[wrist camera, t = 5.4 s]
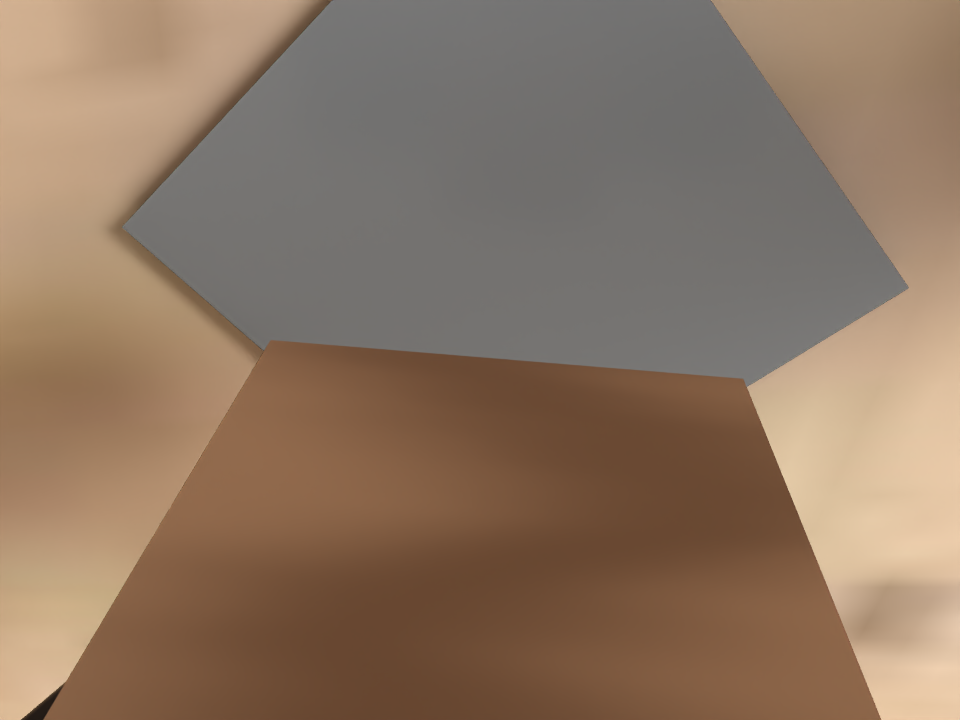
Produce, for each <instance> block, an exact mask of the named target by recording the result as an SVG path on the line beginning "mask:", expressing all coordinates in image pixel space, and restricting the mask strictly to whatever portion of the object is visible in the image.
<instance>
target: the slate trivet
mask: <svg viewBox="0 0 960 720" xmlns="http://www.w3.org/2000/svg"><path fill="white" fill-rule="evenodd" d="M122 228H123V229H124V230H126V231H127V232H128V233H129V234H130V235H131V236H132V237H134V238H135V239H136V240H137V241H138V242H139V243H140V244H142V245H143V246H144V247H145V248H146V249H147V250H149V251H150V252H151V253H152V254H153V255H154V256H155V257H157V258H158V259H159V260H160V261H161V262H162V263H163V264H165V265H166V266H167V267H168V268H169V269H170V270H171V271H173V272H174V273H175V274H176V275H177V276H178V277H179V278H181V279H182V280H183V281H184V282H185V283H186V284H187V285H189V286H190V287H191V288H192V289H193V290H194V291H195V292H197V293H198V294H199V295H200V296H201V297H202V298H203V299H205V300H206V301H207V302H208V303H209V304H210V305H212V306H213V307H214V308H215V309H216V310H217V311H218V312H220V313H221V314H222V315H223V316H224V317H225V318H226V319H228V320H229V321H230V322H231V323H232V324H233V325H234V326H236V327H237V328H238V329H239V330H240V331H241V332H242V333H244V334H245V335H246V336H247V337H248V338H249V339H250V340H252V341H253V342H254V343H255V344H256V345H257V346H258V347H260V348H261V349H262V350H263V351H264V350H265V348H266V347H267V345H268V343H269V342H270V340H277V341H289V342H301V343H313V344H325V345H338V346H350V347H362V348H374V349H386V350H399V351H411V352H423V353H435V354H447V355H460V356H472V357H484V358H496V359H509V360H521V361H533V362H545V363H557V364H570V365H582V366H594V367H606V368H618V369H631V370H643V371H655V372H667V373H679V374H692V375H704V376H716V377H728V378H740V379H744V382H745V384H746V387H748V386H749V385H751V384H752V383H754V382H756V381H757V380H759V379H761V378H762V377H764V376H766V375H767V374H769V373H770V372H772V371H774V370H775V369H777V368H779V367H780V366H782V365H784V364H785V363H787V362H788V361H790V360H792V359H793V358H795V357H797V356H798V355H800V354H802V353H803V352H805V351H807V350H808V349H810V348H811V347H813V346H815V345H816V344H818V343H820V342H821V341H823V340H825V339H826V338H828V337H829V336H831V335H833V334H834V333H836V332H838V331H839V330H841V329H843V328H844V327H846V326H847V325H849V324H851V323H852V322H854V321H856V320H857V319H859V318H861V317H862V316H864V315H866V314H867V313H869V312H870V311H872V310H874V309H875V308H877V307H879V306H880V305H882V304H884V303H885V302H887V301H888V300H890V299H892V298H893V297H895V296H897V295H898V294H900V293H902V292H903V291H905V290H906V289H908V288H909V287H908V286H907V284H906V283H905V281H904V280H903V278H902V277H901V275H900V274H899V273H898V271H897V270H896V268H895V267H894V265H893V264H892V262H891V261H890V260H889V258H888V257H887V255H886V254H885V252H884V251H883V249H882V248H881V246H880V245H879V244H878V242H877V241H876V239H875V238H874V236H873V235H872V233H871V232H870V231H869V229H868V228H867V226H866V225H865V223H864V222H863V220H862V219H861V218H860V216H859V215H858V213H857V212H856V210H855V209H854V207H853V206H852V204H851V203H850V202H849V200H848V199H847V197H846V196H845V194H844V193H843V191H842V190H841V189H840V187H839V186H838V184H837V183H836V181H835V180H834V178H833V177H832V175H831V174H830V173H829V171H828V170H827V168H826V167H825V165H824V164H823V162H822V161H821V160H820V158H819V157H818V155H817V154H816V152H815V151H814V149H813V148H812V146H811V145H810V144H809V142H808V141H807V139H806V138H805V136H804V135H803V133H802V132H801V131H800V129H799V128H798V126H797V125H796V123H795V122H794V120H793V119H792V117H791V116H790V115H789V113H788V112H787V110H786V109H785V107H784V106H783V104H782V103H781V102H780V100H779V99H778V97H777V96H776V94H775V93H774V91H773V90H772V88H771V87H770V86H769V84H768V83H767V81H766V80H765V78H764V77H763V75H762V74H761V73H760V71H759V70H758V68H757V67H756V65H755V64H754V62H753V61H752V60H751V58H750V57H749V55H748V54H747V52H746V51H745V49H744V48H743V46H742V45H741V44H740V42H739V41H738V39H737V38H736V36H735V35H734V33H733V32H732V31H731V29H730V28H729V26H728V25H727V23H726V22H725V20H724V19H723V17H722V16H721V15H720V13H719V12H718V10H717V9H716V7H715V6H714V4H713V3H712V2H711V0H332V1H331V2H330V3H329V4H328V5H327V6H326V7H325V9H324V10H323V11H322V12H321V13H320V14H319V15H318V16H317V17H316V18H315V19H314V20H313V21H312V23H311V24H310V25H309V26H308V27H307V28H306V29H305V30H304V31H303V32H302V33H301V34H300V36H299V37H298V38H297V39H296V40H295V41H294V42H293V43H292V44H291V45H290V46H289V47H288V48H287V50H286V51H285V52H284V53H283V54H282V55H281V56H280V57H279V58H278V59H277V60H276V61H275V62H274V64H273V65H272V66H271V67H270V68H269V69H268V70H267V71H266V72H265V73H264V74H263V75H262V76H261V78H260V79H259V80H258V81H257V82H256V83H255V84H254V85H253V86H252V87H251V88H250V89H249V91H248V92H247V93H246V94H245V95H244V96H243V97H242V98H241V99H240V100H239V101H238V102H237V103H236V105H235V106H234V107H233V108H232V109H231V110H230V111H229V112H228V113H227V114H226V115H225V116H224V117H223V119H222V120H221V121H220V122H219V123H218V124H217V125H216V126H215V127H214V128H213V129H212V130H211V132H210V133H209V134H208V135H207V136H206V137H205V138H204V139H203V140H202V141H201V142H200V143H199V144H198V146H197V147H196V148H195V149H194V150H193V151H192V152H191V153H190V154H189V155H188V156H187V157H186V158H185V160H184V161H183V162H182V163H181V164H180V165H179V166H178V167H177V168H176V169H175V170H174V171H173V173H172V174H171V175H170V176H169V177H168V178H167V179H166V180H165V181H164V182H163V183H162V184H161V185H160V187H159V188H158V189H157V190H156V191H155V192H154V193H153V194H152V195H151V196H150V197H149V198H148V199H147V201H146V202H145V203H144V204H143V205H142V206H141V207H140V208H139V209H138V210H137V211H136V212H135V213H134V215H133V216H132V217H131V218H130V219H129V220H128V221H127V222H126V223H125V224H124V225H123V226H122Z"/></svg>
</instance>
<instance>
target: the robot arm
mask: <svg viewBox="0 0 960 720" xmlns="http://www.w3.org/2000/svg"><path fill="white" fill-rule="evenodd" d="M65 683H66V682H65ZM65 683H64V684H65ZM64 684H63V685H62V686H60V687H59V688H58V689H57V690H56V691H55V692H53V693H52V694H51V695H50V696H49V697H47V698H46V699H45V700H44V701H43V702H42V703H40V704H39V705H38V706H37V707H36V708H34V709H33V710H32V711H31V712H30V713H29V714H27V715H26V716H25V717H24V718H23V719H21V720H44V718H45V716H46V715H47V713H48V711H49V710H50V708H51V706H52V704H53V703H54V701H55V699H56V698H57V696H58V694H59V693H60V691H61V689H62V688H63V686H64Z"/></svg>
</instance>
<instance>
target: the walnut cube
mask: <svg viewBox="0 0 960 720" xmlns="http://www.w3.org/2000/svg"><path fill="white" fill-rule="evenodd" d="M44 720H881V718H880V715H879V713H878V711H877V708H876V706H875V703H874V701H873V698H872V696H871V693H870V691H869V688H868V686H867V683H866V681H865V678H864V676H863V673H862V671H861V669H860V666H859V664H858V661H857V659H856V656H855V654H854V651H853V649H852V646H851V644H850V641H849V639H848V636H847V634H846V631H845V629H844V627H843V624H842V622H841V619H840V617H839V614H838V612H837V609H836V607H835V604H834V602H833V599H832V597H831V594H830V592H829V589H828V587H827V585H826V582H825V580H824V577H823V575H822V572H821V570H820V567H819V565H818V562H817V560H816V557H815V555H814V552H813V550H812V547H811V545H810V542H809V540H808V538H807V535H806V533H805V530H804V528H803V525H802V523H801V520H800V518H799V515H798V513H797V510H796V508H795V505H794V503H793V500H792V498H791V496H790V493H789V491H788V488H787V486H786V483H785V481H784V478H783V476H782V473H781V471H780V468H779V466H778V463H777V461H776V458H775V456H774V454H773V451H772V449H771V446H770V444H769V441H768V439H767V436H766V434H765V431H764V429H763V426H762V424H761V421H760V419H759V416H758V414H757V412H756V409H755V407H754V404H753V402H752V399H751V397H750V394H749V392H748V389H747V387H746V384H745V382H744V379H740V378H728V377H716V376H704V375H692V374H679V373H667V372H655V371H643V370H631V369H618V368H606V367H594V366H582V365H570V364H557V363H545V362H533V361H521V360H509V359H496V358H484V357H472V356H460V355H447V354H435V353H423V352H411V351H399V350H386V349H374V348H362V347H350V346H338V345H325V344H313V343H301V342H289V341H277V340H270V342H269V343H268V345H267V347H266V348H265V350H264V352H263V353H262V355H261V357H260V358H259V360H258V362H257V363H256V365H255V367H254V368H253V370H252V372H251V373H250V375H249V377H248V378H247V380H246V382H245V384H244V385H243V387H242V389H241V390H240V392H239V394H238V395H237V397H236V399H235V400H234V402H233V404H232V405H231V407H230V409H229V410H228V412H227V414H226V415H225V417H224V419H223V420H222V422H221V424H220V425H219V427H218V429H217V430H216V432H215V434H214V435H213V437H212V439H211V440H210V442H209V444H208V445H207V447H206V449H205V450H204V452H203V454H202V455H201V457H200V459H199V460H198V462H197V464H196V465H195V467H194V469H193V470H192V472H191V474H190V475H189V477H188V479H187V480H186V482H185V484H184V485H183V487H182V489H181V491H180V492H179V494H178V496H177V497H176V499H175V501H174V502H173V504H172V506H171V507H170V509H169V511H168V512H167V514H166V516H165V517H164V519H163V521H162V522H161V524H160V526H159V527H158V529H157V531H156V532H155V534H154V536H153V537H152V539H151V541H150V542H149V544H148V546H147V547H146V549H145V551H144V552H143V554H142V556H141V557H140V559H139V561H138V562H137V564H136V566H135V567H134V569H133V571H132V572H131V574H130V576H129V577H128V579H127V581H126V582H125V584H124V586H123V587H122V589H121V591H120V592H119V594H118V596H117V597H116V599H115V601H114V603H113V604H112V606H111V608H110V609H109V611H108V613H107V614H106V616H105V618H104V619H103V621H102V623H101V624H100V626H99V628H98V629H97V631H96V633H95V634H94V636H93V638H92V639H91V641H90V643H89V644H88V646H87V648H86V649H85V651H84V653H83V654H82V656H81V658H80V659H79V661H78V663H77V664H76V666H75V668H74V669H73V671H72V673H71V674H70V676H69V678H68V679H67V681H66V683H65V684H64V686H63V688H62V689H61V691H60V693H59V694H58V696H57V698H56V699H55V701H54V703H53V704H52V706H51V708H50V710H49V711H48V713H47V715H46V716H45V718H44Z"/></svg>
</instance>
